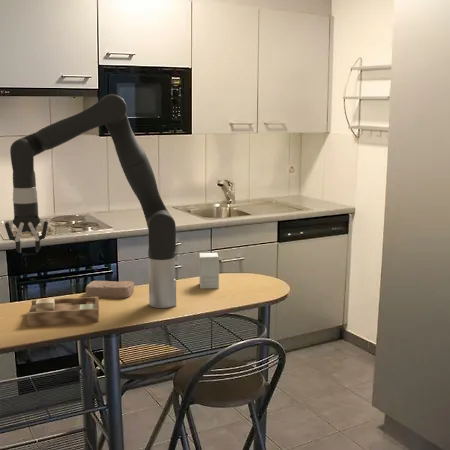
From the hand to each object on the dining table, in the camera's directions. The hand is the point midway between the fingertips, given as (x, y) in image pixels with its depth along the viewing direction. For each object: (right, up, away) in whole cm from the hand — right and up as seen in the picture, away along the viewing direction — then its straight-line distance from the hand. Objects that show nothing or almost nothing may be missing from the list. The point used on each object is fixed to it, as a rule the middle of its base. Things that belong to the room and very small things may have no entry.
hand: (28, 251), depth 202 cm
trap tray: (+12, -22, +1) cm, 25 cm away
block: (+6, -19, 0) cm, 20 cm away
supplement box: (+59, -15, +37) cm, 71 cm away
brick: (+22, -17, +26) cm, 39 cm away
